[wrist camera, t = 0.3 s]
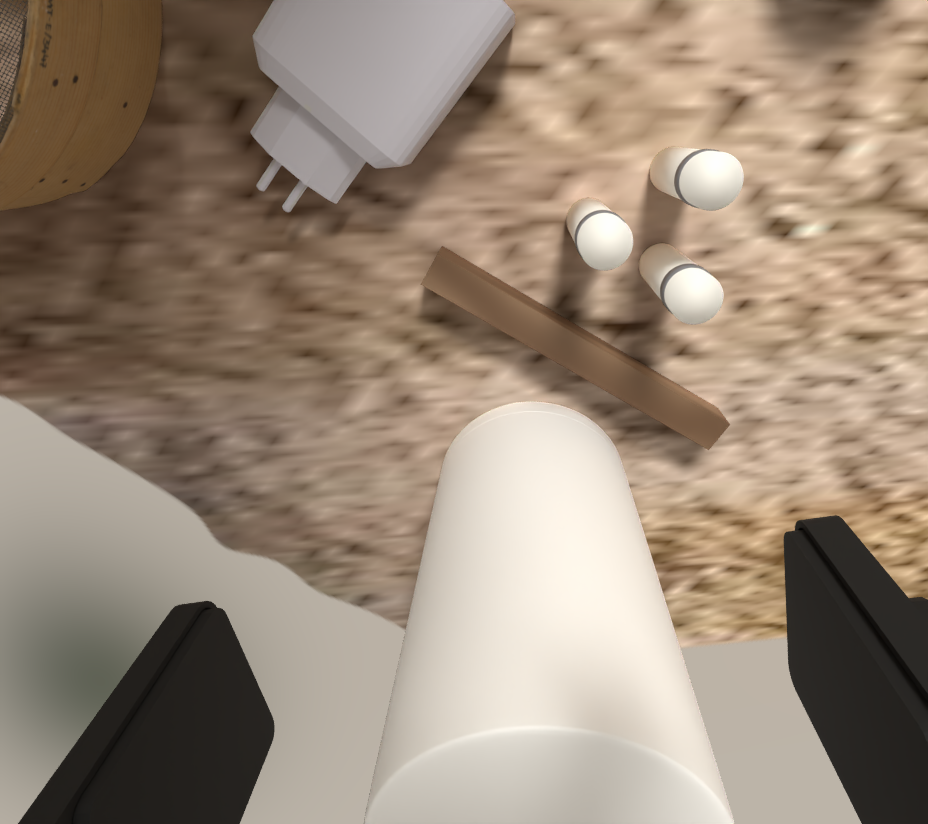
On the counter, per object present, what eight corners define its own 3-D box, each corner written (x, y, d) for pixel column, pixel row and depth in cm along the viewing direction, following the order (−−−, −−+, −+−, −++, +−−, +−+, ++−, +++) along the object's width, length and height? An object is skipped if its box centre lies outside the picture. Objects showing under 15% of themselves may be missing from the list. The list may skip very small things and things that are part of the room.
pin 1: (581, 188, 37) (598, 204, 29) (618, 211, 37) (645, 233, 29) (556, 227, 38) (567, 254, 30) (593, 250, 38) (613, 281, 30)
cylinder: (412, 433, 44) (297, 772, 21) (594, 376, 41) (691, 689, 18) (477, 578, 48) (441, 990, 25) (645, 535, 45) (775, 949, 22)
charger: (220, 141, 37) (375, -112, 32) (349, 247, 39) (516, 25, 34) (181, 142, 33) (353, -150, 28) (328, 262, 35) (515, 10, 30)
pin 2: (654, 234, 37) (691, 261, 29) (690, 256, 38) (736, 289, 30) (629, 271, 38) (657, 308, 30) (664, 293, 39) (701, 335, 31)
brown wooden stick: (442, 246, 38) (437, 253, 36) (717, 408, 41) (729, 424, 39) (426, 275, 39) (420, 284, 37) (698, 432, 42) (708, 450, 40)
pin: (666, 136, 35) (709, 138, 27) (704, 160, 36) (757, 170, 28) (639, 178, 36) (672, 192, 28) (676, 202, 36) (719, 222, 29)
